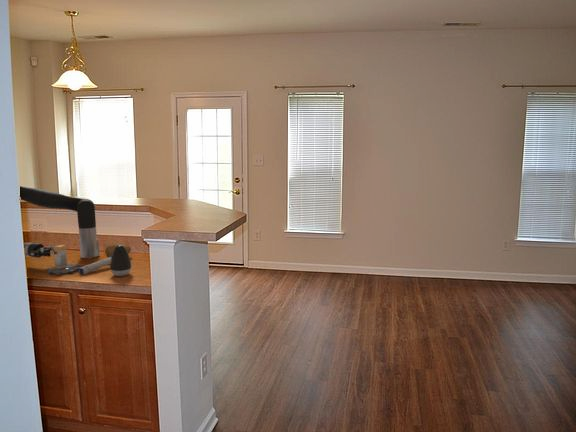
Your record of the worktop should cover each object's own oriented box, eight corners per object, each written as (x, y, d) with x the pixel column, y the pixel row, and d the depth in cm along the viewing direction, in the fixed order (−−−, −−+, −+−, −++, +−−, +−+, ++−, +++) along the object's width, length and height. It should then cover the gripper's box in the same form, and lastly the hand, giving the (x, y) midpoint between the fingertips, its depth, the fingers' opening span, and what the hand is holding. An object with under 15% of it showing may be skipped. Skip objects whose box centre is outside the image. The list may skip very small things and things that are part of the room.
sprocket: (72, 264, 261) (72, 261, 260) (88, 270, 250) (88, 267, 250) (40, 271, 248) (40, 268, 248) (55, 277, 237) (55, 274, 237)
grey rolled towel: (76, 267, 242) (117, 250, 262) (79, 279, 244) (119, 261, 264) (83, 268, 240) (123, 251, 260) (85, 281, 242) (125, 263, 262)
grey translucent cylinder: (61, 265, 253) (59, 244, 252) (67, 265, 252) (65, 245, 250) (55, 267, 250) (53, 246, 248) (61, 267, 248) (59, 247, 246)
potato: (135, 257, 276) (134, 241, 274) (111, 263, 264) (110, 246, 262) (126, 255, 281) (125, 239, 279) (102, 260, 269) (101, 244, 267)
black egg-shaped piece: (111, 278, 235) (109, 248, 233) (109, 273, 245) (108, 244, 242) (133, 276, 239) (131, 246, 237) (130, 271, 249) (129, 242, 246)
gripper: (20, 246, 249) (44, 248, 243) (42, 240, 262) (66, 242, 256) (22, 260, 250) (46, 262, 244) (44, 253, 263) (67, 256, 258)
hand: (56, 252), depth 250 cm, fingers open, 8 cm apart
